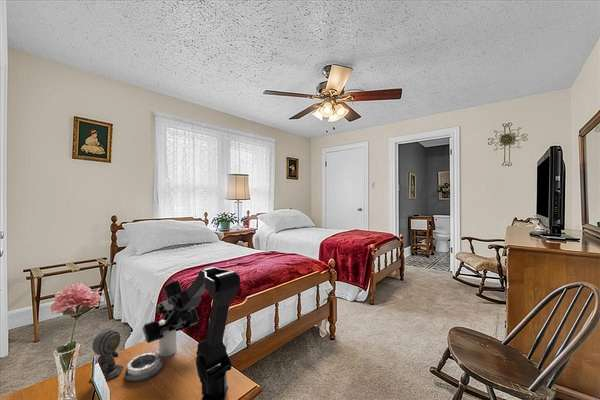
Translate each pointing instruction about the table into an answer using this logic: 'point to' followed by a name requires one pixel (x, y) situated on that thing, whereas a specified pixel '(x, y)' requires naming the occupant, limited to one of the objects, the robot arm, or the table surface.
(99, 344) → the figurine
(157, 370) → the mount
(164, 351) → the white domed cylinder
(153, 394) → the table surface
